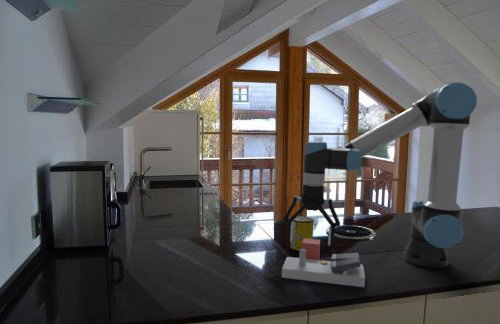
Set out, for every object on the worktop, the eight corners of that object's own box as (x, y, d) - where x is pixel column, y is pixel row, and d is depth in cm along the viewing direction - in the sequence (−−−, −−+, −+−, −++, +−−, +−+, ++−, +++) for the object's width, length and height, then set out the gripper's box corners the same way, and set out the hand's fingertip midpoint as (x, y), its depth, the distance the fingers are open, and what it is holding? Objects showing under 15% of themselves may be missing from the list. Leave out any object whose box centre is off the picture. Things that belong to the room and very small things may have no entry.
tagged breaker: (358, 257, 129) (358, 252, 129) (359, 262, 124) (359, 257, 124) (332, 259, 131) (331, 254, 131) (331, 263, 127) (331, 258, 126)
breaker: (359, 261, 123) (358, 256, 123) (360, 266, 119) (359, 261, 119) (332, 266, 126) (331, 261, 126) (332, 272, 121) (330, 266, 121)
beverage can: (299, 242, 163) (300, 215, 162) (316, 248, 156) (318, 219, 155) (285, 247, 157) (287, 218, 156) (303, 252, 150) (304, 222, 149)
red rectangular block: (319, 260, 141) (320, 239, 140) (318, 266, 135) (319, 244, 135) (303, 259, 142) (303, 238, 142) (301, 264, 137) (302, 242, 136)
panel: (362, 273, 130) (363, 250, 129) (364, 287, 118) (365, 262, 118) (286, 264, 136) (287, 243, 135) (281, 277, 124) (282, 253, 124)
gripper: (349, 185, 137) (345, 243, 139) (280, 180, 143) (277, 235, 145) (349, 188, 130) (345, 249, 132) (277, 183, 136) (274, 241, 137)
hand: (310, 242), depth 138 cm, fingers open, 13 cm apart
